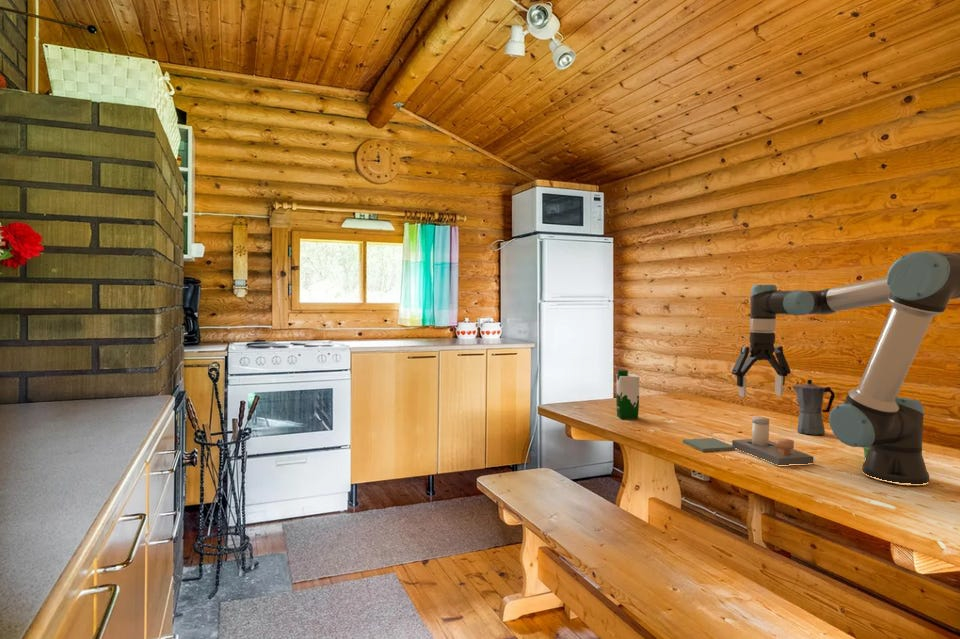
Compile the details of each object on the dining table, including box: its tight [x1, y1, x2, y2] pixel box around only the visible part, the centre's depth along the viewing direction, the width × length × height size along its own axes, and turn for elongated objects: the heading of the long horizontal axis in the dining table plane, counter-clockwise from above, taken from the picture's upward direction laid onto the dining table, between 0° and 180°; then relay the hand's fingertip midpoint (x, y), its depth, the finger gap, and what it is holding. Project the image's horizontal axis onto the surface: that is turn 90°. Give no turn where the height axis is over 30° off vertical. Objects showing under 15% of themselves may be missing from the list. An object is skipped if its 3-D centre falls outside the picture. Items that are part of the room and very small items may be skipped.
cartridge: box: [751, 416, 770, 447], centre depth 183 cm, size 5×5×11 cm
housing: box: [731, 438, 815, 465], centre depth 178 cm, size 22×12×2 cm, turn 11°
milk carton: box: [615, 369, 640, 420], centre depth 234 cm, size 9×9×20 cm
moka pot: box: [792, 379, 836, 436], centre depth 207 cm, size 10×15×20 cm, turn 33°
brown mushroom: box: [775, 437, 795, 455], centre depth 173 cm, size 5×5×6 cm
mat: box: [682, 437, 736, 453], centre depth 190 cm, size 12×12×1 cm
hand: (760, 395), depth 183 cm, fingers open, 13 cm apart
